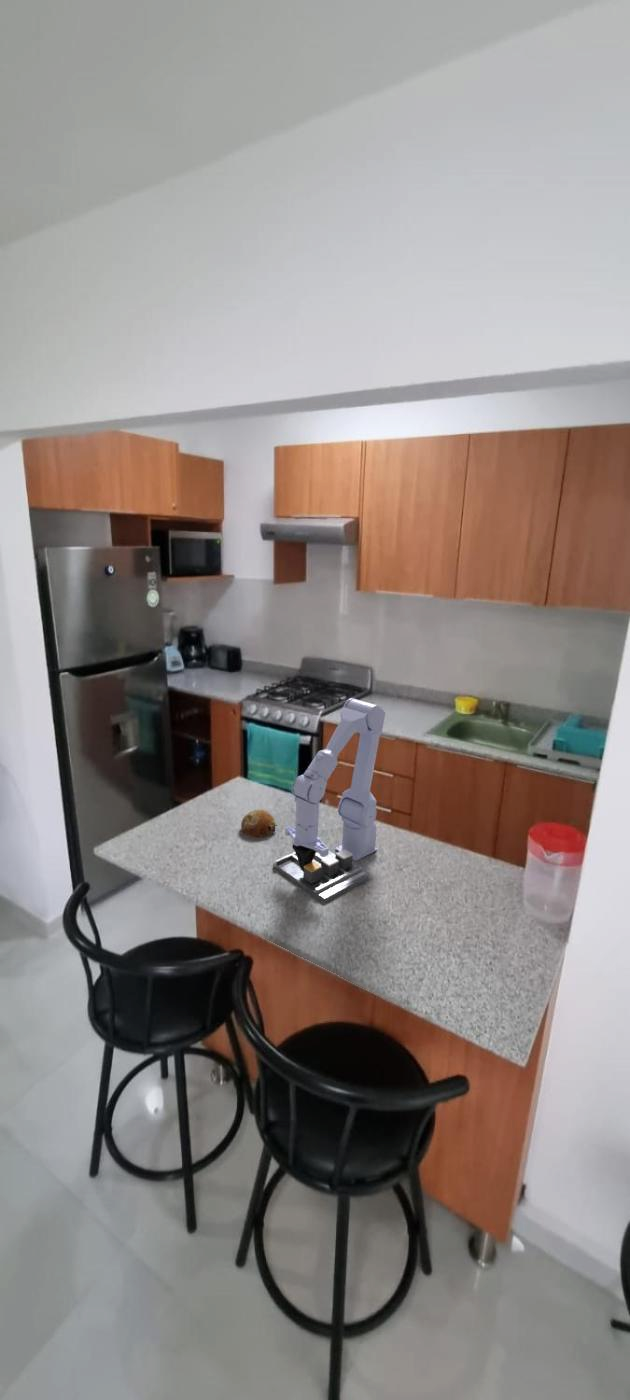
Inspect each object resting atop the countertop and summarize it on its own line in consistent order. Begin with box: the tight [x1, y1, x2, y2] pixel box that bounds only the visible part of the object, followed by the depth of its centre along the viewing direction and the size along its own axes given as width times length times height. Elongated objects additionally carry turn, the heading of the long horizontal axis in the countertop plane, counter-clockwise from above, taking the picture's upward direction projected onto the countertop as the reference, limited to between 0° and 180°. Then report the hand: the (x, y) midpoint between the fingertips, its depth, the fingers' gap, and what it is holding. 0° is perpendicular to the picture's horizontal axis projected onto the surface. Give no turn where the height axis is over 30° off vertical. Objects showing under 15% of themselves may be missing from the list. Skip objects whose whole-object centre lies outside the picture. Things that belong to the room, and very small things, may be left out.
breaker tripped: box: [303, 861, 322, 884], centre depth 142 cm, size 3×3×4 cm
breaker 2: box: [335, 849, 353, 870], centre depth 148 cm, size 3×3×4 cm
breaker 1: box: [321, 856, 339, 877], centre depth 145 cm, size 3×3×4 cm
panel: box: [272, 850, 370, 904], centre depth 147 cm, size 16×20×2 cm
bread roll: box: [240, 808, 278, 838], centre depth 168 cm, size 10×10×8 cm
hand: (305, 869), depth 144 cm, fingers closed
